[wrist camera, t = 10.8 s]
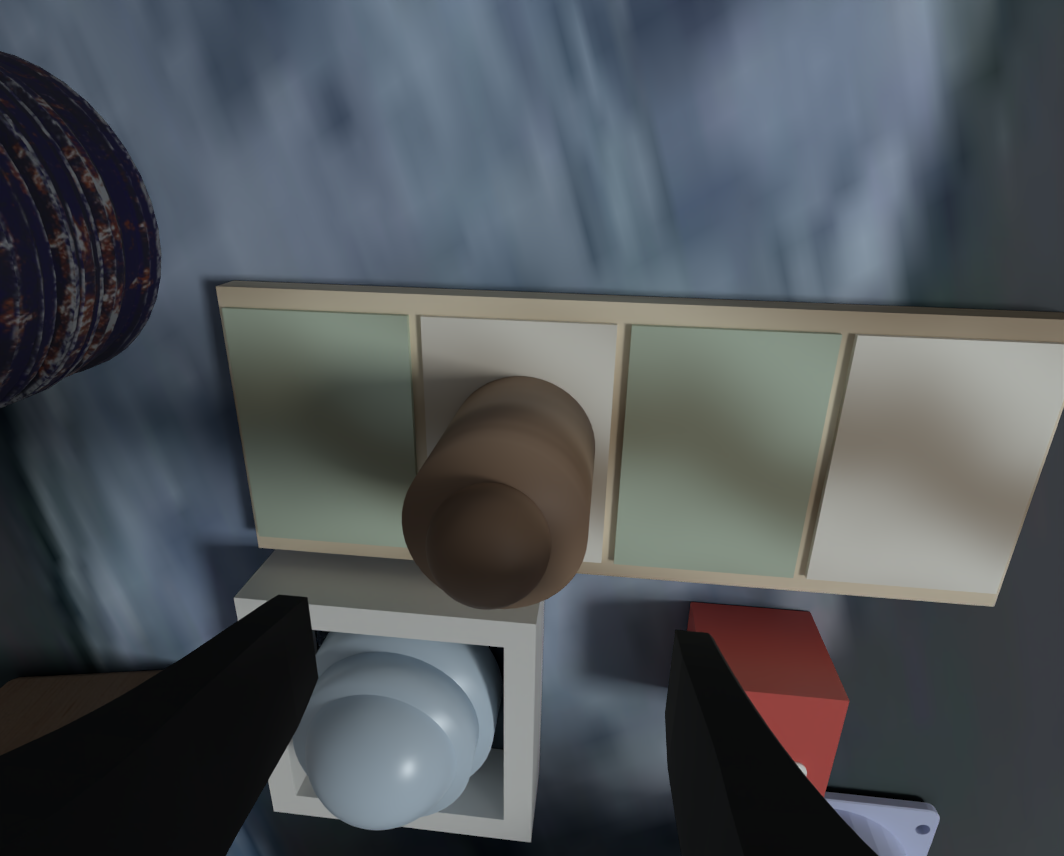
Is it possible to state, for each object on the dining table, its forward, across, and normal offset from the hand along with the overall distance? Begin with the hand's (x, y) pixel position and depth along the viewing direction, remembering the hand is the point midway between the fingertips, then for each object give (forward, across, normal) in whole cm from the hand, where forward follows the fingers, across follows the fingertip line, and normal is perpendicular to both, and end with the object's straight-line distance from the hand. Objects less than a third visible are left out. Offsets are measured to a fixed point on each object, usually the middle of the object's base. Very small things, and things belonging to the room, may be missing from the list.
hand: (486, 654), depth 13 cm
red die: (+9, -7, +7) cm, 14 cm away
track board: (+9, -2, -1) cm, 10 cm away
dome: (+9, +5, +9) cm, 13 cm away
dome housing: (+9, +5, +9) cm, 14 cm away
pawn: (+8, 0, -1) cm, 8 cm away
